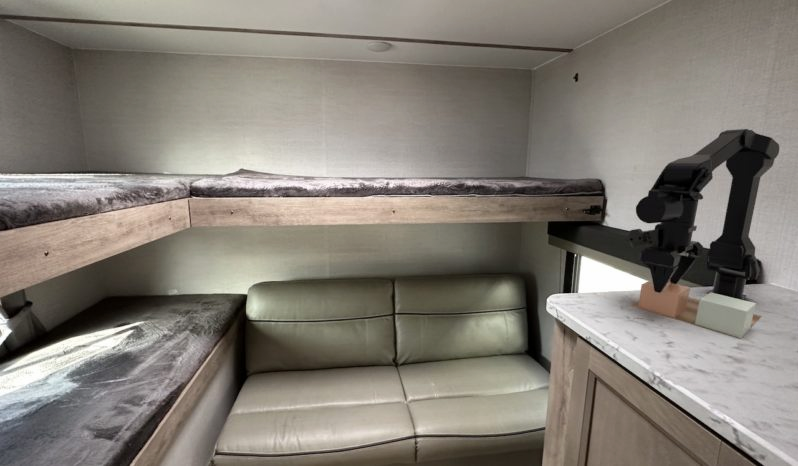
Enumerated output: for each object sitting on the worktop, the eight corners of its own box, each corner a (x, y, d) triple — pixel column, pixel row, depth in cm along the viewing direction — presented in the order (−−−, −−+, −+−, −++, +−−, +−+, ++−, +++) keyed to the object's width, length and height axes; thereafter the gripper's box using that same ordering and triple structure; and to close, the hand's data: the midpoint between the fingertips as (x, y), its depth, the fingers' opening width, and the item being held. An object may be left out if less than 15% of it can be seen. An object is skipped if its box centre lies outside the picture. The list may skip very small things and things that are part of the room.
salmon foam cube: (650, 300, 84) (654, 278, 83) (686, 310, 78) (690, 287, 77) (638, 306, 80) (641, 284, 79) (674, 317, 74) (678, 294, 73)
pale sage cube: (705, 316, 75) (710, 292, 74) (750, 328, 70) (755, 303, 69) (694, 324, 72) (699, 299, 70) (740, 338, 66) (747, 311, 65)
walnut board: (661, 293, 91) (662, 290, 91) (761, 320, 76) (762, 316, 76) (631, 309, 81) (632, 305, 80) (739, 343, 66) (740, 338, 66)
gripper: (652, 212, 87) (642, 271, 90) (617, 219, 76) (608, 285, 79) (709, 218, 78) (696, 284, 81) (679, 227, 67) (666, 301, 70)
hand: (665, 287), depth 78 cm, fingers open, 9 cm apart
